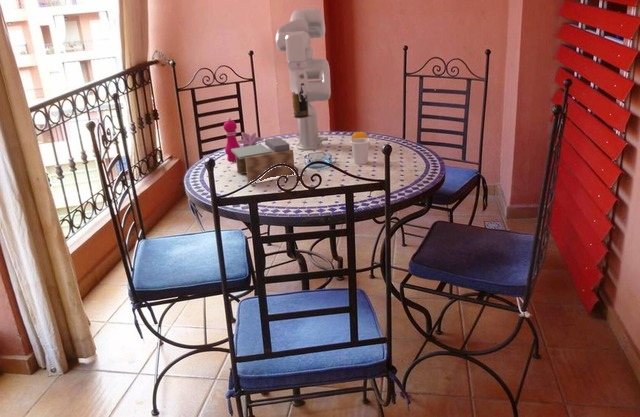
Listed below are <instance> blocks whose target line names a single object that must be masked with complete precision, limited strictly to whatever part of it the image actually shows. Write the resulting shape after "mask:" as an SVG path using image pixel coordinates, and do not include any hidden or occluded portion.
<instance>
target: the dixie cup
mask: <svg viewBox="0 0 640 417" xmlns="http://www.w3.org/2000/svg"><path fill="white" fill-rule="evenodd" d="M367 138H368V137H367ZM367 138H356V139H352V140H350V145H351V149H352V150H351V151H352V155H353V156H352V157H353V163H354V164H355V165H358V166H359V165H360V166H361V165H366V164H368V160H369V158H368V157H369V149H370V142H371V141H370V139H369V138H368V139H367Z"/></svg>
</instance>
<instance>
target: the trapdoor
mask: <svg viewBox="0 0 640 417" xmlns="http://www.w3.org/2000/svg"><path fill="white" fill-rule="evenodd" d="M264 143H265V144H264ZM290 147H291V146H290V143H289V142H287V141H285V140H284V139H282V138H280V137H274V138H273V137H272V138H267V139H264V142H261V143H260V144H257V145H252V146H246V147H243V146H242V147H241V146H240V148H234V149H231V152H232V153H234V154H235V155H236V156H237V157H238V158H239V159H245V157H251V156H257V155H263V154H268V153H274V152H280V151H286V150H291V148H290Z"/></svg>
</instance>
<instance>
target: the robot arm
mask: <svg viewBox="0 0 640 417" xmlns="http://www.w3.org/2000/svg"><path fill="white" fill-rule="evenodd" d="M324 18H325V17H324V14H323V13H322V11H321V10H320V9H319V8H317V7H316V8H315V7H314V8H301V9H300V8H299V9H296V10H294V11H292V13H291V15H290V19H289V22H287V23H285V24H283V25H281V26H280V27H279V28H278V29H277V32H276V34H275V46H276V49H277V50H279V52H285V54H286V55H285V56H286V63H287V66H286V67H287V70H288V77H289V79H288V80H289V81H288V82H289V89H290V92H291V97H292V99H293V94H294V93H293V92H295V94H298V97H299V111H306V110H307V105H306V96H307V98H308V114H309V115H312V116H314V117H308V118H301V119H297V128H298V138H299V139H298V141H299V143H297V144H296V149H298V150H303V151H308V150H309V151H310V150H312V151H313V150H316V149H317V150H318V149H320V148H322V147H323V143H322V142H327V141H329V137H328V136H319V124H318V111H317V108H316V107H315V105H314V104H312V102H313V103H314V102H325V101H328V100H330V98H331V94H332V92H331V91H332V90H331V89H332V88H331V73H330V72H331V70H330V65H329V61H328V60H327V59H326V58H320V57H319V58H314V49H313V47H312V46H311V42H312V40H311V39H321V38H323V37H324V36H325V34H326V24H325V19H324ZM300 92H302V93H301V94H300ZM301 95H302V96H301ZM292 107H293V109H294V106H293V105H292Z"/></svg>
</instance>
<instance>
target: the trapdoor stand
mask: <svg viewBox="0 0 640 417" xmlns="http://www.w3.org/2000/svg"><path fill="white" fill-rule="evenodd" d="M263 143H264V144H265V142H263ZM235 156H236V155H235ZM235 162H236V163H235V164H236V170H237V171H236V173H237V174H245V173H246V178H247V179H246V180H247V184H248V183H249V182H250V181H252V180H254V179H256V178H257V177H258V176H259V175H261V174H262V173H263V172H264V171H265V170H267V169H268V168H270V167H271V166H273V165H276V164H280V163H285V164H288V165H290V166H292V167H294V168H295V169H296V171H297V172H298V173H299V168H298V167H297V166H295V156H294V149H290V150H286V151H280V152H274V153H268V154H263V155H257V156H251V157H245V159H239V158H238V157H237V156H236V161H235ZM292 174H293V175H294V172H293V171H292V170H291V169H290V168H288V167H285V166H281V167H276V168H273V169H272V170H270V171H269V172H267V173H266V174H265V175H264V176H263V177H262V178H261V179H259V180H260V181H262V180H264V179H267V178H270V177H276V176H281V175H286V176H287V175H292ZM255 184H257V183H256V182H255Z"/></svg>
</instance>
